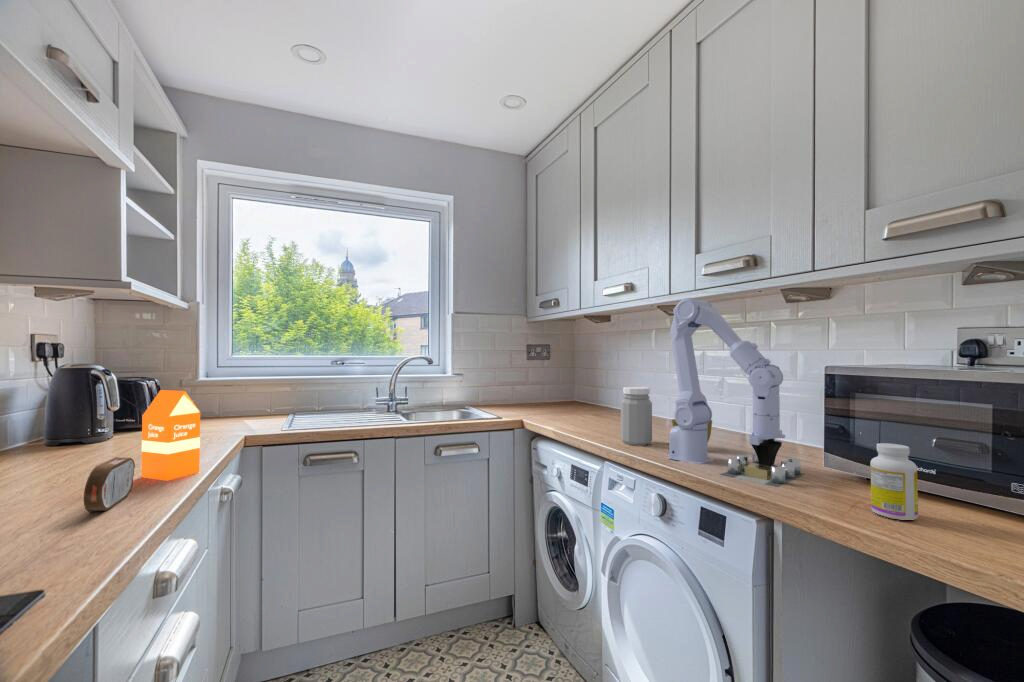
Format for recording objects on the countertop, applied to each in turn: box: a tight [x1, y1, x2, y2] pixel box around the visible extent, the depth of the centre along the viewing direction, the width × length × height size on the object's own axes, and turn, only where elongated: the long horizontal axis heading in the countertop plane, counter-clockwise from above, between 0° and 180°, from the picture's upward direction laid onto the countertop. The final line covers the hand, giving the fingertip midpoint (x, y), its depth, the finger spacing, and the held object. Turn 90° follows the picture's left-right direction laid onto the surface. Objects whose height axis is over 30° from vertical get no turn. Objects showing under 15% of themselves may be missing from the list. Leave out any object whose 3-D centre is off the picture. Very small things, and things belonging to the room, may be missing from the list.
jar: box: [620, 386, 653, 446], centre depth 150 cm, size 10×10×18 cm
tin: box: [83, 456, 136, 513], centre depth 89 cm, size 15×3×8 cm, turn 21°
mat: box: [719, 471, 806, 488], centre depth 111 cm, size 13×17×1 cm
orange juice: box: [140, 389, 201, 481], centre depth 110 cm, size 8×9×20 cm
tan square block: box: [745, 462, 771, 480], centre depth 109 cm, size 5×5×2 cm
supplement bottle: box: [870, 442, 919, 519], centre depth 85 cm, size 7×7×13 cm
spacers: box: [727, 451, 802, 485], centre depth 112 cm, size 13×14×4 cm
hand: (766, 470), depth 112 cm, fingers closed
